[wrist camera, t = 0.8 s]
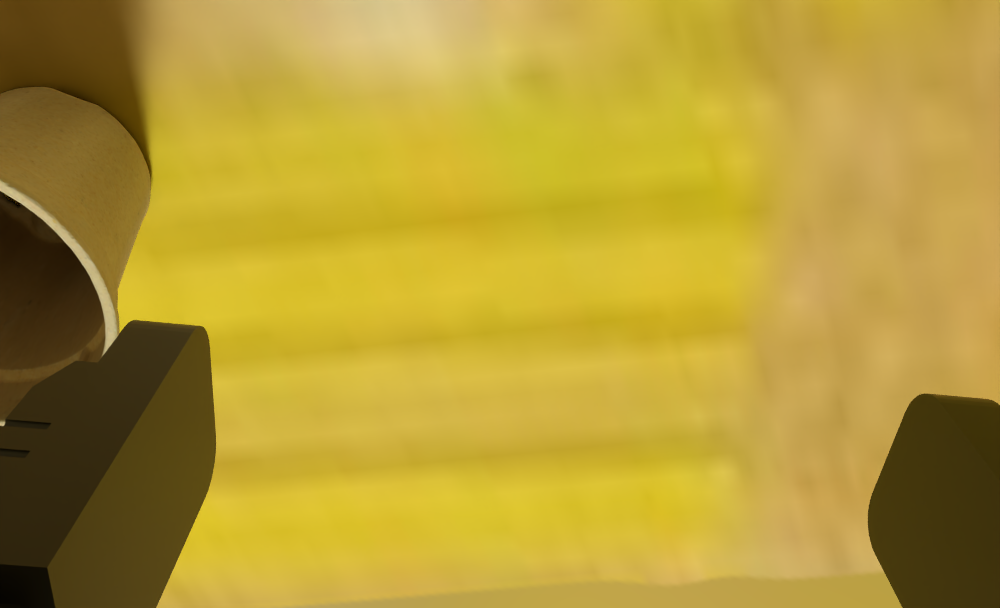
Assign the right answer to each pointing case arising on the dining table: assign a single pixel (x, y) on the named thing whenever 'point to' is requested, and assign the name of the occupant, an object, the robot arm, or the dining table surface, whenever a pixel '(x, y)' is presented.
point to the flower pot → (62, 233)
